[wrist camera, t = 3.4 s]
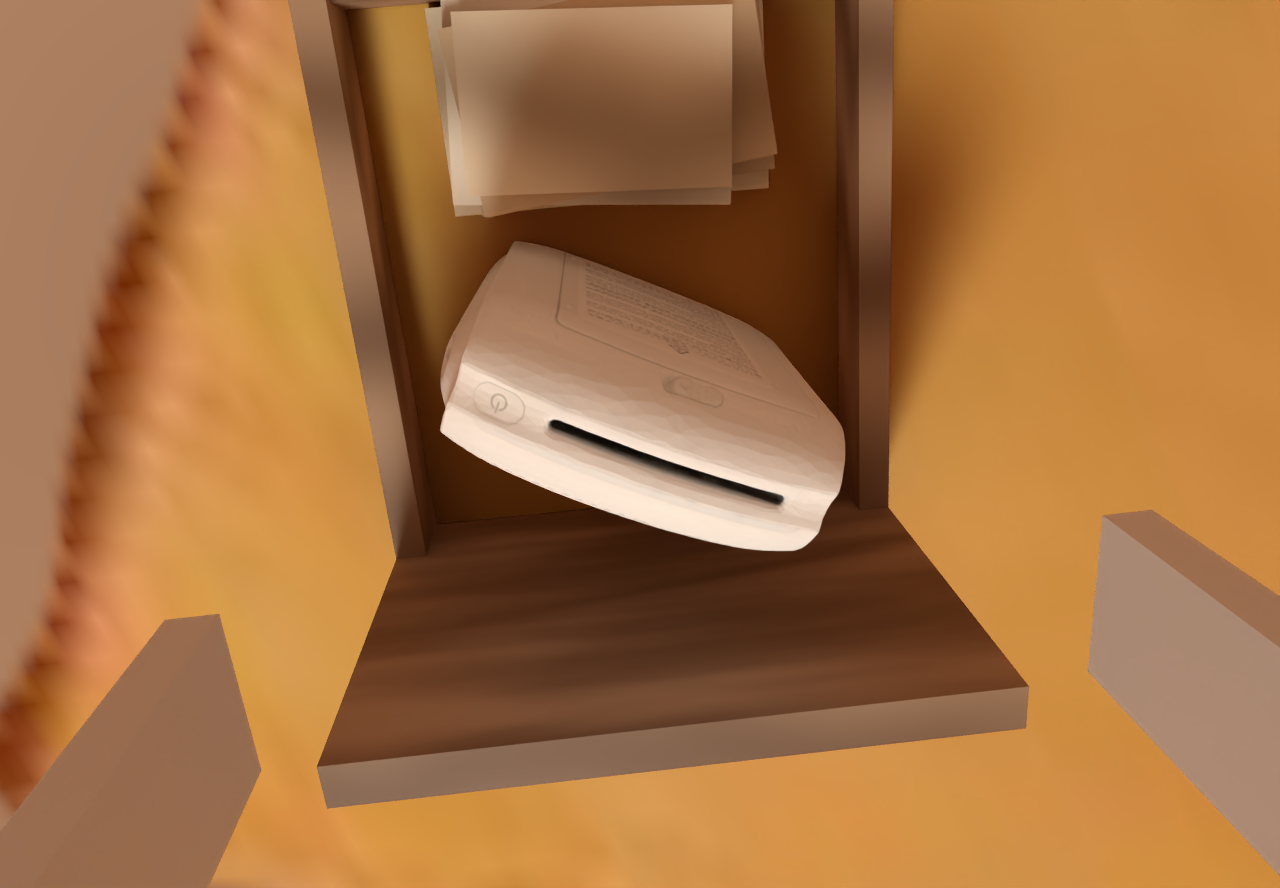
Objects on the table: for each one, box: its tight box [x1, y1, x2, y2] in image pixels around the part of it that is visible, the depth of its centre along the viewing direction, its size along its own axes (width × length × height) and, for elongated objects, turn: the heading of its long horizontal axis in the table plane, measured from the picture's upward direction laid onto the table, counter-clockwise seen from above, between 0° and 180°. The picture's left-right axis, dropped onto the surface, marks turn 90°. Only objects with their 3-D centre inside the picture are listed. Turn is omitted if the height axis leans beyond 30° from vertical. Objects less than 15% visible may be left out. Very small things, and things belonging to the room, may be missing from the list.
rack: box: [288, 0, 1029, 808], centre depth 25 cm, size 19×17×13 cm
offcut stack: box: [425, 0, 778, 218], centre depth 28 cm, size 7×10×4 cm, turn 95°
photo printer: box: [440, 241, 845, 551], centre depth 26 cm, size 10×4×12 cm, turn 68°
